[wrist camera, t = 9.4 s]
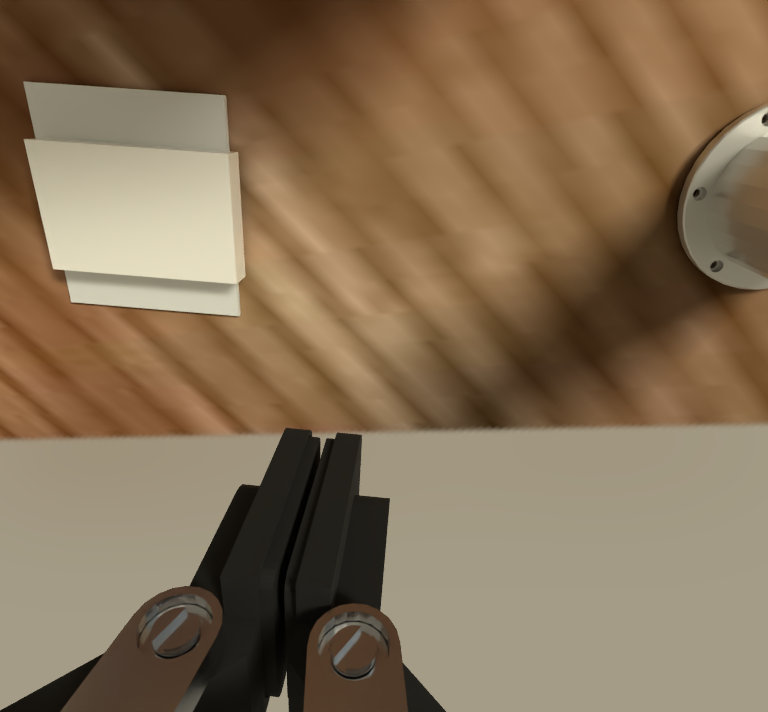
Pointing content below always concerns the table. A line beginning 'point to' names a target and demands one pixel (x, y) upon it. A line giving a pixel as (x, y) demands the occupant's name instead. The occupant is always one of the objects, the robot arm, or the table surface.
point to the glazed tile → (140, 209)
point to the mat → (139, 127)
